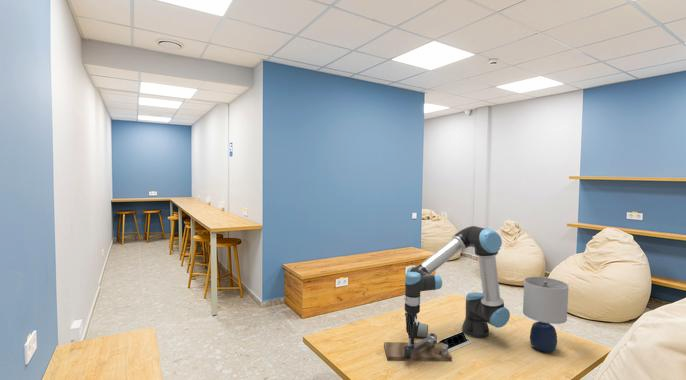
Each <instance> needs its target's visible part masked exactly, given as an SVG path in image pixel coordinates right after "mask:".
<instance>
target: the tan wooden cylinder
mask: <svg viewBox="0 0 686 380" xmlns="http://www.w3.org/2000/svg"><path fill="white" fill-rule="evenodd" d="M441 350H442V345H441V344H435V353H436V354H441Z"/></svg>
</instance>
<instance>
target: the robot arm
mask: <svg viewBox="0 0 686 380" xmlns="http://www.w3.org/2000/svg"><path fill="white" fill-rule="evenodd" d="M502 243H503V241H502V237H501V235H500V234H499V232H497V231H496V230H493V229H491V228H485V227H481V226H478V225H477V226H476V225H471V226H468V227H465V228H463V229H461V230H459V231H457V232H456V233H455V234H454V235H453V236H452V237H451V239H450V240H448V242H447V243H445V244H444V245H443V246H441V247H440V248H439V249H437V250H436V251H435V252H433V254H431V255H430V256H429V257H427V258H426V259H424V261H422V262H421V263H420V264H418V265H417V266H410V267H409V268H407V271H406V274H405V280H404V285H405V286H404V298H403V299H404V315H405V326H406V327H405V328H406V333H407V335H408V337H407V338H408V340H407V341H408V346H412V345H414V343H416V342H415V341H416V339H417V338H418V337H417V333H418V326H419V323H420V321H418V314H419V313H420V312H421V305H420V304H421V292H426V291H427V292H429V291H436V290H440V289H441V288H442V287H443V279H442V277H441V276H440V274H433V273H434V272H436V270H437V269H439V268H441V267H442V266H443V265H444V264H445V263H446V262H448V261H449V260H450V259H452V257H454V256H455V255H457V254H458V253H459V252H461V251H464V250H466V249H467V248H474V254H475V256H477V257H478V265H479V272H480V281H481V289H482V292H477V291H476V292H474V291H473V292H469V293H467V294H466V295H465V296H466V297H465V318H464V321H463V323H462V325H461V330H462V331H461V332H464V333H463V334H465V335H466V336H469V337H472V338H477V339H484V338H488V337H489V336H490V328H489V325H490V326H492V327H495V328H502V327H504V326H506V325H507V323H508V322H509V321H510V318H511V311H510V310H509V309H508V308H507V307H505V302H504V299H503V298H502V297H501V293H500V291H501V290H500V285H499V276H498V268H497V258H496V256H498V254H499V251H500V250H501V247H502Z"/></svg>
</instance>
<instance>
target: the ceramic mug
mask: <svg viewBox="0 0 686 380" xmlns="http://www.w3.org/2000/svg"><path fill="white" fill-rule="evenodd" d="M428 334H429V325H428V324H426V323H422V322H419V326H418V333H417V338H418V337H419V338H427V335H428Z"/></svg>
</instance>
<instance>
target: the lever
mask: <svg viewBox="0 0 686 380" xmlns="http://www.w3.org/2000/svg"><path fill="white" fill-rule="evenodd" d="M415 343H416V344H414V345H412V346H405V347H404V358H405V359H410V358H411V355H412V354H413V353H415V352H417V351H419V350H420V349H422V348H424V347H426V346H429V347H430V346H432V345H433V344H435V343H438V335H437V334H436V333H434V332H430V333H428V335H427V337H424V338H423V339H422V340H419V341H418V342H415Z"/></svg>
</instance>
